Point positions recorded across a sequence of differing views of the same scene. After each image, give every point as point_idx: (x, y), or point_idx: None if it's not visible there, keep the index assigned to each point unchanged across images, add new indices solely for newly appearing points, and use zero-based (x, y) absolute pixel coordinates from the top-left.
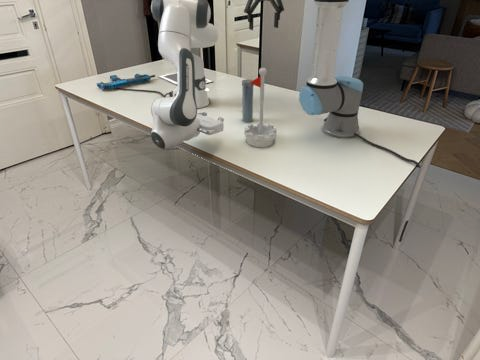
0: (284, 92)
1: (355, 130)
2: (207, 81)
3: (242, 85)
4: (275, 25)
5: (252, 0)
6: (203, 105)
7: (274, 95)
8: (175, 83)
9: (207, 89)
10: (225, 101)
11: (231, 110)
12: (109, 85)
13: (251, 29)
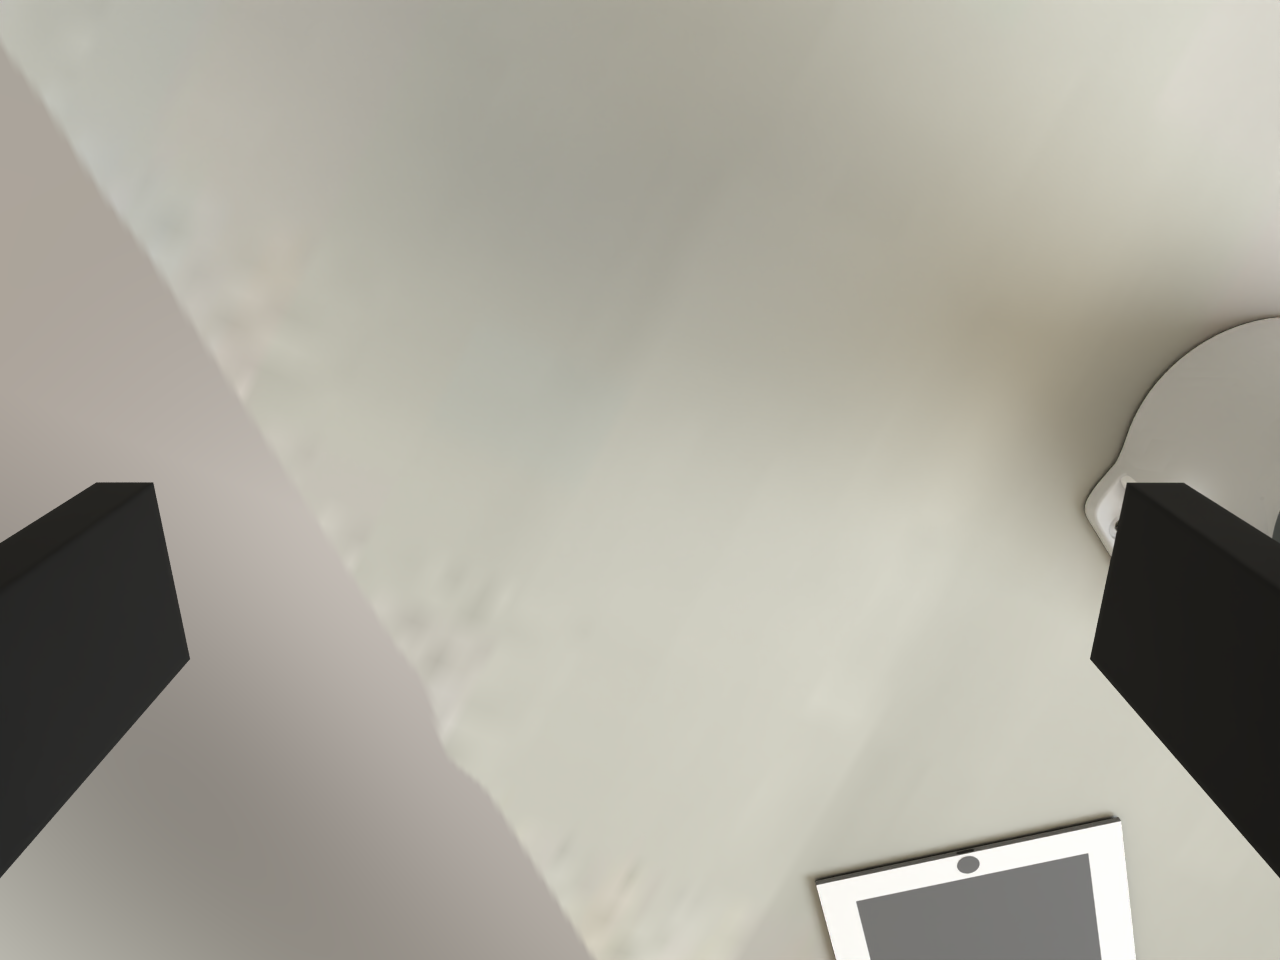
0: (303, 362)
1: None
2: (863, 896)
3: None
4: (136, 602)
5: None
6: (1254, 330)
7: (444, 326)
8: (1131, 948)
9: None
10: (977, 383)
11: (1061, 120)
12: None
13: (1191, 504)
